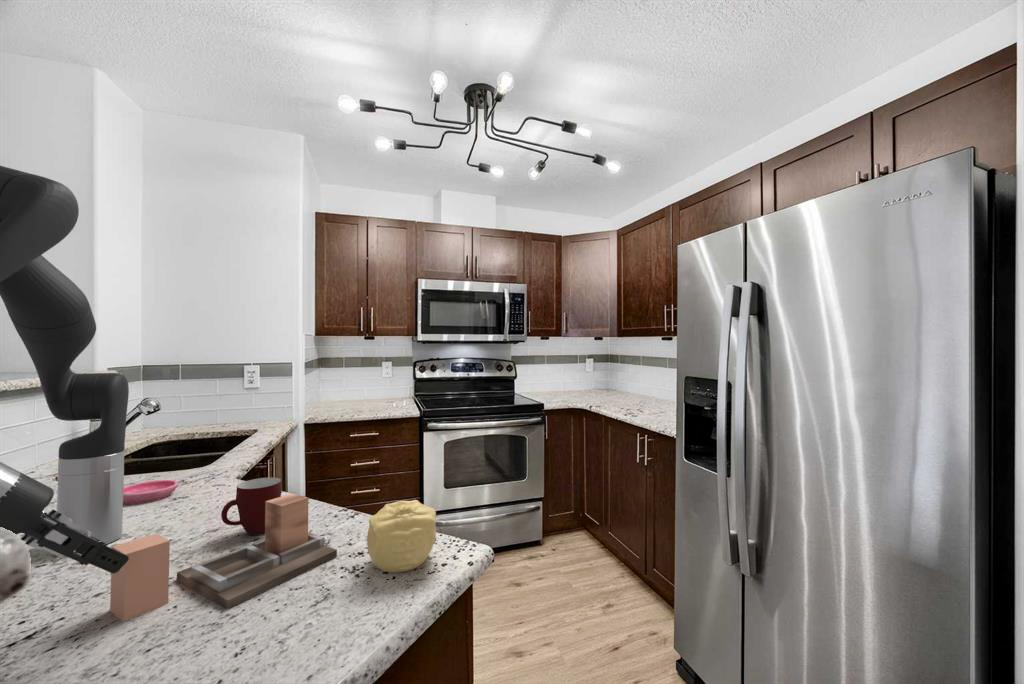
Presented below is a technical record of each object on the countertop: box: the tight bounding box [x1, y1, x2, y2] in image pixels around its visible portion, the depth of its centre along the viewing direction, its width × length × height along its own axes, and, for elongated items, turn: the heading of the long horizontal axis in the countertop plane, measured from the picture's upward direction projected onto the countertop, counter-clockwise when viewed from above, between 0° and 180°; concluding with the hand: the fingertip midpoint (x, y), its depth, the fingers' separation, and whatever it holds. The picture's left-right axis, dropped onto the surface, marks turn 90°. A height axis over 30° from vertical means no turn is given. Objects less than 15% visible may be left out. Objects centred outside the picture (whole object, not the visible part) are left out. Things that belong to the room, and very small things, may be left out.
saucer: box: [123, 479, 179, 505], centre depth 109 cm, size 12×12×3 cm
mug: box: [220, 477, 283, 536], centre depth 85 cm, size 11×8×10 cm
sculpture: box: [366, 499, 437, 573], centre depth 73 cm, size 11×12×11 cm
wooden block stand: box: [176, 493, 338, 610], centre depth 71 cm, size 16×18×10 cm
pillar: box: [109, 533, 171, 622], centre depth 60 cm, size 5×5×9 cm
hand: (110, 558), depth 58 cm, fingers open, 8 cm apart
